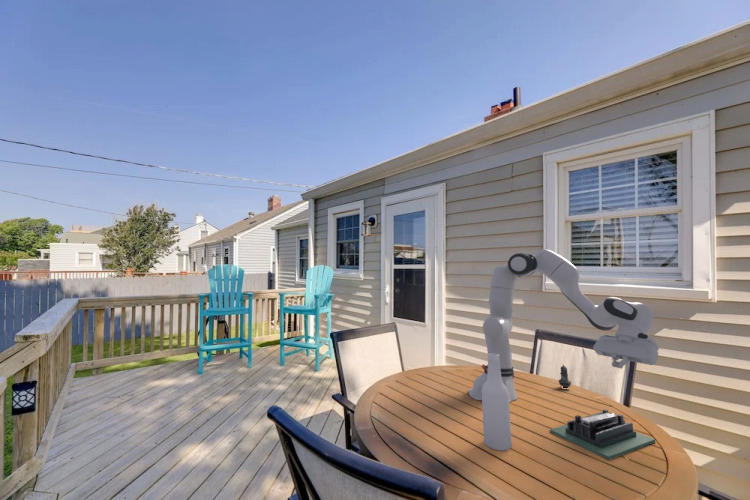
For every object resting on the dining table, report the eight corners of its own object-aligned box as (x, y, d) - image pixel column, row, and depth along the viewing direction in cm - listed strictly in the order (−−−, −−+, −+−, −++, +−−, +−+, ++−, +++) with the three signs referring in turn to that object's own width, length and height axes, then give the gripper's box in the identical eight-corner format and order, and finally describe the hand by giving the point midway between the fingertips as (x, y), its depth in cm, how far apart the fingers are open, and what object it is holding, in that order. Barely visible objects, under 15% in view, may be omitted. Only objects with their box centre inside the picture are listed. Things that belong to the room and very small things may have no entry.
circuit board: (594, 419, 125) (594, 416, 125) (655, 442, 107) (654, 439, 107) (550, 432, 114) (549, 429, 114) (609, 460, 96) (608, 456, 96)
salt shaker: (573, 390, 158) (572, 366, 159) (561, 390, 159) (559, 365, 161) (569, 387, 164) (567, 363, 165) (556, 386, 165) (555, 363, 166)
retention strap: (609, 415, 116) (609, 411, 116) (618, 418, 113) (618, 415, 113) (580, 421, 109) (580, 418, 109) (589, 425, 107) (589, 421, 107)
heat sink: (600, 422, 120) (598, 404, 121) (636, 435, 109) (634, 416, 110) (565, 432, 112) (564, 413, 113) (601, 448, 101) (599, 427, 102)
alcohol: (500, 454, 100) (496, 358, 103) (478, 443, 107) (474, 353, 110) (517, 447, 104) (512, 355, 108) (494, 436, 112) (490, 350, 115)
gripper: (597, 329, 132) (584, 355, 127) (656, 337, 113) (644, 367, 108) (605, 339, 133) (592, 365, 128) (664, 348, 114) (652, 379, 109)
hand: (616, 366), depth 118 cm, fingers closed
